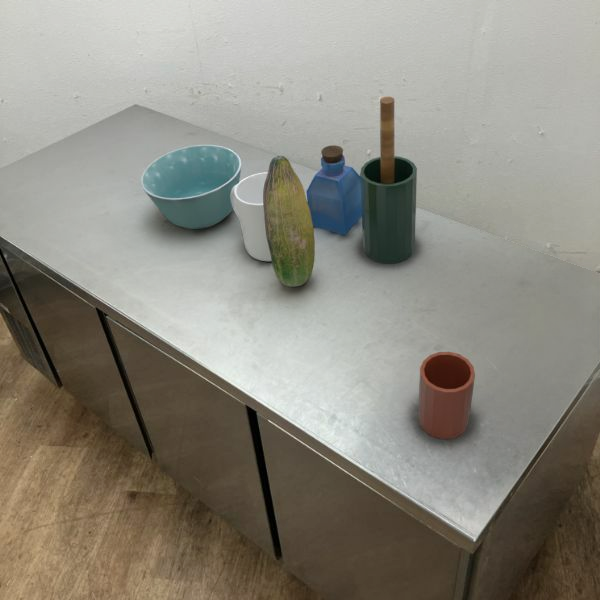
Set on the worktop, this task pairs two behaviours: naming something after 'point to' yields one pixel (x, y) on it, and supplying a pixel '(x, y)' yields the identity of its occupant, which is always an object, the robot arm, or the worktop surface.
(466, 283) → the worktop surface
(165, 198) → the bowl
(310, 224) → the vegetable
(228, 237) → the worktop surface
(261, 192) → the mug
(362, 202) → the cup
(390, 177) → the wooden dowel rod
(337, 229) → the perfume bottle
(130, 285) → the worktop surface
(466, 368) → the holder
